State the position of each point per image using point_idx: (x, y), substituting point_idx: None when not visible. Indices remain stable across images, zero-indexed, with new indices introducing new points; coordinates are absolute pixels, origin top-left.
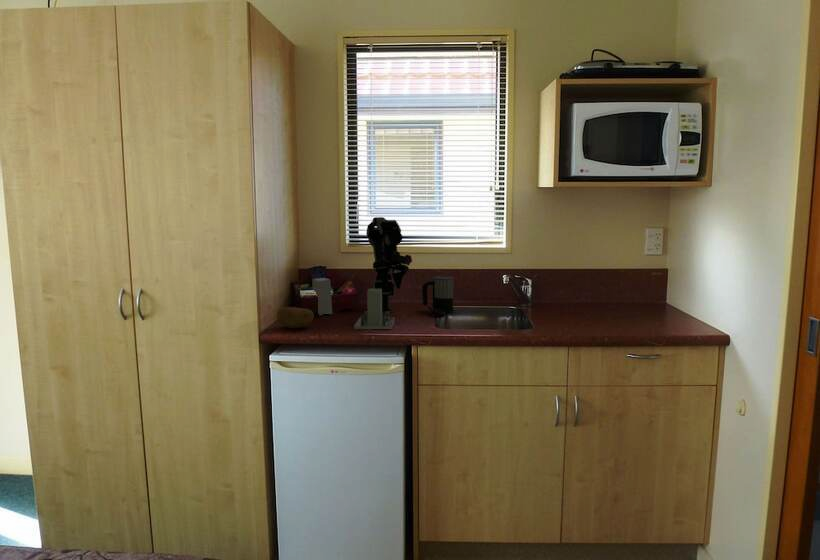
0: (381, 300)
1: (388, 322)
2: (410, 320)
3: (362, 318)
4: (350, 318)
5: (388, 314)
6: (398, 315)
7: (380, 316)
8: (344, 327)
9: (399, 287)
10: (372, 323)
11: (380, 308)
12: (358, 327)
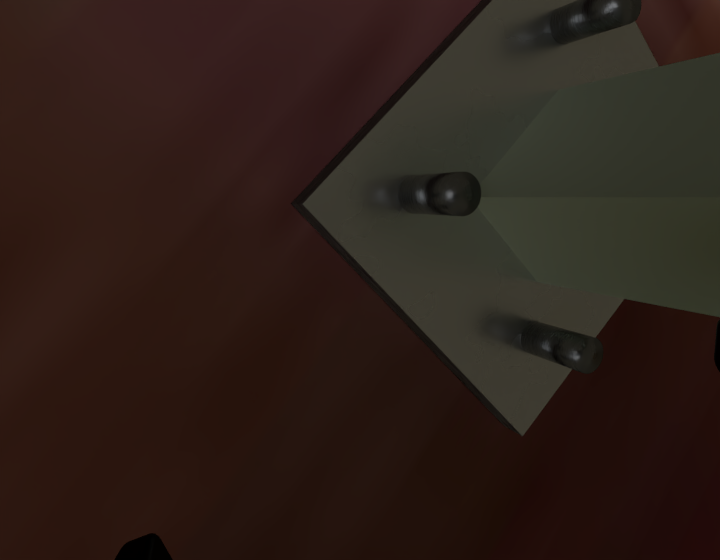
0: (712, 132)
1: (494, 62)
2: (140, 70)
3: None
4: (518, 525)
5: (440, 174)
6: (67, 411)
7: (615, 78)
8: None
9: (140, 553)
10: None
11: (698, 58)
12: None
